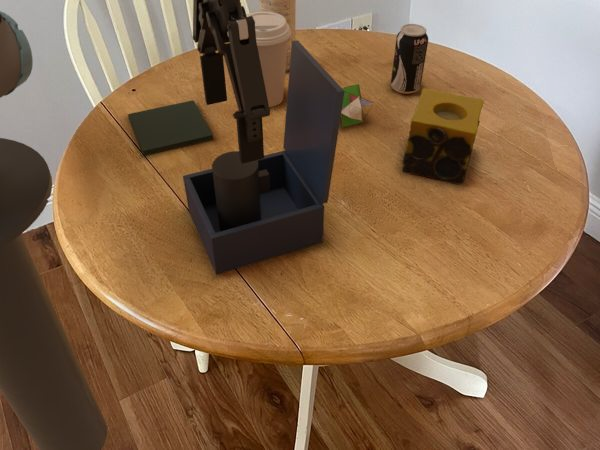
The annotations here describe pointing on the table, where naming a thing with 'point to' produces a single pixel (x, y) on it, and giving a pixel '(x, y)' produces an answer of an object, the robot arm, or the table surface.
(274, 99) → the coffee cup
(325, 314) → the table surface
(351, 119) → the geometric puzzle
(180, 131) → the trivet
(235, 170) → the brown mug
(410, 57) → the beverage can
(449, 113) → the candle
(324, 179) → the chest lid
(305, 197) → the chest
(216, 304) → the table surface
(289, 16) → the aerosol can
